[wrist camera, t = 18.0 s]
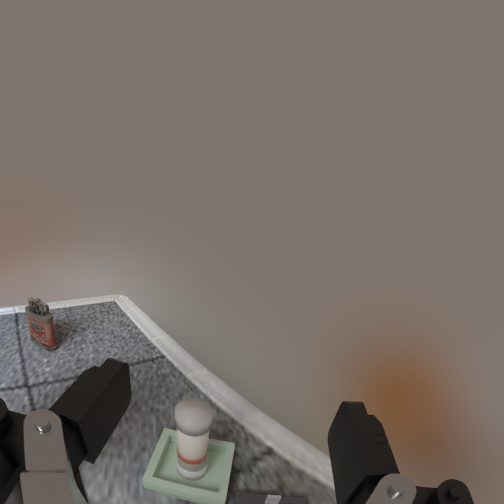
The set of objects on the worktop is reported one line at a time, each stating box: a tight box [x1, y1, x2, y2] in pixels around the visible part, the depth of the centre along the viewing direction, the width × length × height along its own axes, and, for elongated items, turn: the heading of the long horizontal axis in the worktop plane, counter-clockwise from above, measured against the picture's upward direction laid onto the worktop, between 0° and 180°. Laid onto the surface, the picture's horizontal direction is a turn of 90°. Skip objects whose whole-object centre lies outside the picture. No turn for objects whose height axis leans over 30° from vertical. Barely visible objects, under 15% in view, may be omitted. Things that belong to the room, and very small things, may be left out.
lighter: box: [25, 298, 58, 352], centre depth 47 cm, size 8×3×10 cm, turn 79°
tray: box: [142, 428, 235, 504], centre depth 30 cm, size 10×10×2 cm
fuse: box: [175, 399, 213, 481], centre depth 28 cm, size 4×4×12 cm
